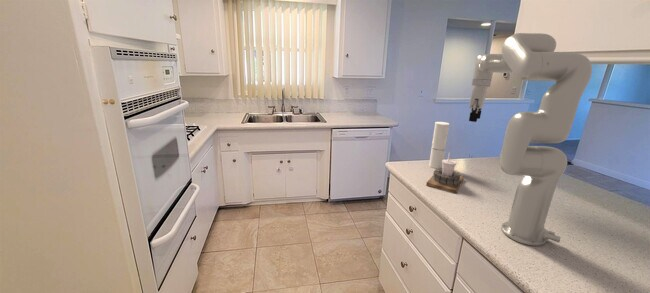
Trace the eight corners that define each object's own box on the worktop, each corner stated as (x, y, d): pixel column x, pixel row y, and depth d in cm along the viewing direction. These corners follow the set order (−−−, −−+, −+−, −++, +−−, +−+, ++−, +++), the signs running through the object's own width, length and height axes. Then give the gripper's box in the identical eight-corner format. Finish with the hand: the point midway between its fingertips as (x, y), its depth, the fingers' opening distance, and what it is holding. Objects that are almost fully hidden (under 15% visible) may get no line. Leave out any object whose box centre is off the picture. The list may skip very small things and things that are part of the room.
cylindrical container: (440, 164, 158) (446, 121, 150) (444, 169, 151) (451, 124, 143) (427, 163, 158) (433, 121, 151) (430, 168, 151) (437, 124, 144)
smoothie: (444, 176, 137) (448, 150, 133) (456, 181, 132) (460, 153, 128) (436, 179, 134) (440, 152, 129) (448, 184, 128) (452, 156, 124)
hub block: (463, 180, 137) (465, 170, 135) (455, 193, 123) (457, 182, 121) (436, 173, 144) (438, 164, 143) (426, 185, 130) (427, 175, 129)
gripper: (475, 81, 134) (469, 116, 139) (468, 83, 121) (462, 121, 126) (492, 82, 130) (485, 118, 135) (488, 84, 116) (480, 124, 122)
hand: (474, 119), depth 130 cm, fingers open, 9 cm apart
